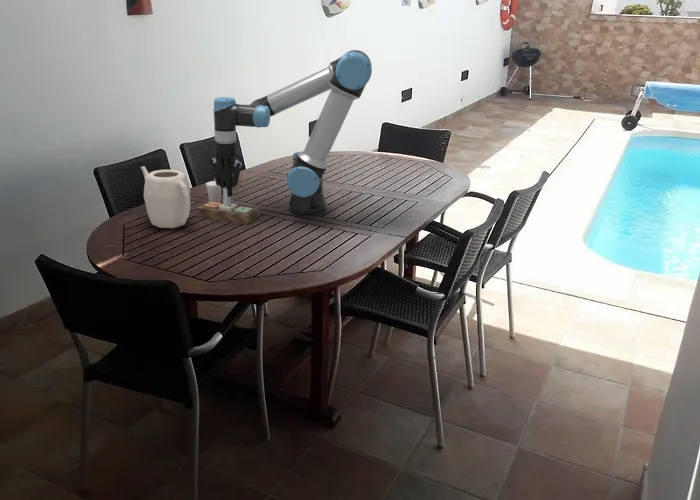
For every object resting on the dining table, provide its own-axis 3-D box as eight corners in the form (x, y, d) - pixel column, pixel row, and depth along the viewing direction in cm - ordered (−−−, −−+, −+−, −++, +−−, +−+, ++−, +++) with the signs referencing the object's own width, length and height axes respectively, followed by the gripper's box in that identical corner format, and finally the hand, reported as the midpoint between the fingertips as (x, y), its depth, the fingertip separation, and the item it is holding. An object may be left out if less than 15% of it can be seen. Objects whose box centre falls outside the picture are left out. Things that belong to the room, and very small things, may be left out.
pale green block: (252, 217, 228) (252, 208, 226) (246, 221, 223) (245, 211, 222) (241, 215, 229) (240, 206, 228) (234, 219, 225) (233, 209, 224)
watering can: (163, 210, 233) (159, 162, 226) (208, 226, 218) (205, 175, 211) (127, 219, 222) (122, 169, 215) (172, 237, 207) (168, 183, 200)
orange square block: (222, 212, 232) (222, 203, 230) (215, 216, 227) (215, 206, 226) (211, 210, 233) (210, 201, 232) (204, 214, 229) (203, 205, 228)
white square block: (237, 213, 230) (237, 204, 228) (230, 217, 225) (230, 207, 224) (225, 211, 231) (225, 202, 230) (218, 215, 227) (218, 205, 225)
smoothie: (219, 210, 236) (218, 175, 231) (204, 208, 237) (202, 173, 232) (226, 205, 242) (224, 171, 237) (210, 204, 243) (209, 169, 238)
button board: (258, 217, 229) (258, 208, 228) (247, 224, 221) (246, 215, 220) (210, 210, 236) (210, 201, 234) (197, 216, 228) (197, 207, 227)
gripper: (246, 141, 219) (247, 204, 228) (215, 137, 223) (217, 199, 232) (236, 145, 213) (237, 209, 221) (203, 141, 217) (206, 204, 225)
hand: (227, 204), depth 227 cm, fingers closed
